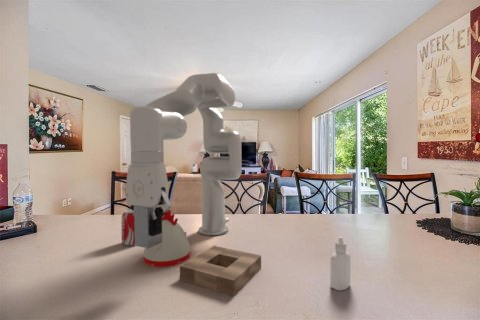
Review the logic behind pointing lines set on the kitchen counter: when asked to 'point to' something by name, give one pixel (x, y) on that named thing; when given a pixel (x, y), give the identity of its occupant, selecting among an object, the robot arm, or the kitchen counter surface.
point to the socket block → (221, 269)
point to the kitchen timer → (169, 245)
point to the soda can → (128, 228)
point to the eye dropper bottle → (340, 267)
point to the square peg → (144, 228)
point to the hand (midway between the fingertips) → (148, 232)
